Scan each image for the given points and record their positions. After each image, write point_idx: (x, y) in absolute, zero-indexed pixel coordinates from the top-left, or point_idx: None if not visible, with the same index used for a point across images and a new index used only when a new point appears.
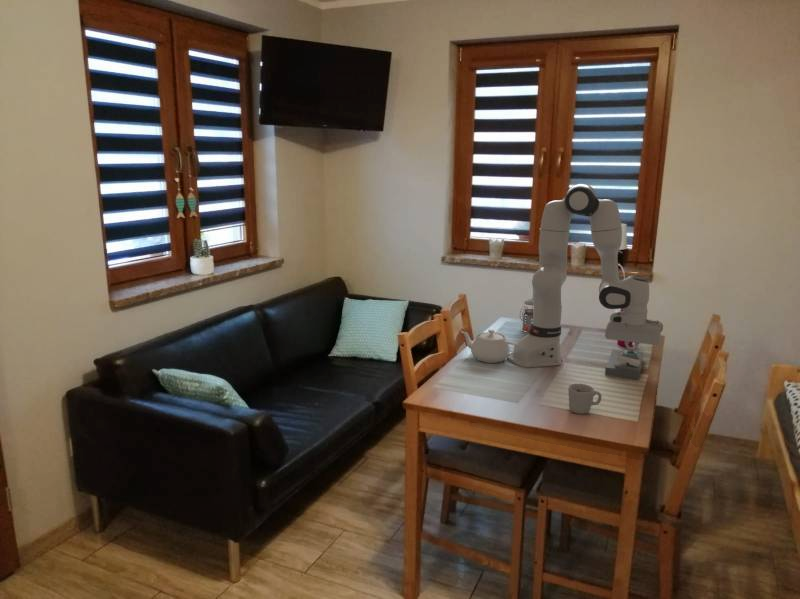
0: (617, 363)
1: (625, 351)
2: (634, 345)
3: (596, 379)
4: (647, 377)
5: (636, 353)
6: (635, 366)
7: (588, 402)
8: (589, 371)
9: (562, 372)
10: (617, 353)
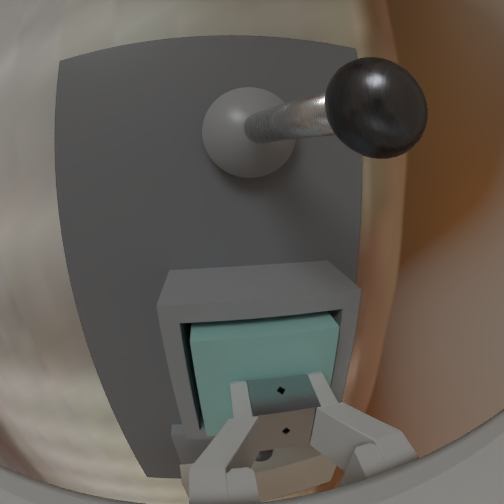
0: (190, 456)
1: (210, 389)
2: (313, 130)
3: (145, 481)
4: (353, 386)
5: (330, 319)
6: None
7: None
8: (78, 430)
9: (28, 451)
10: (108, 159)
